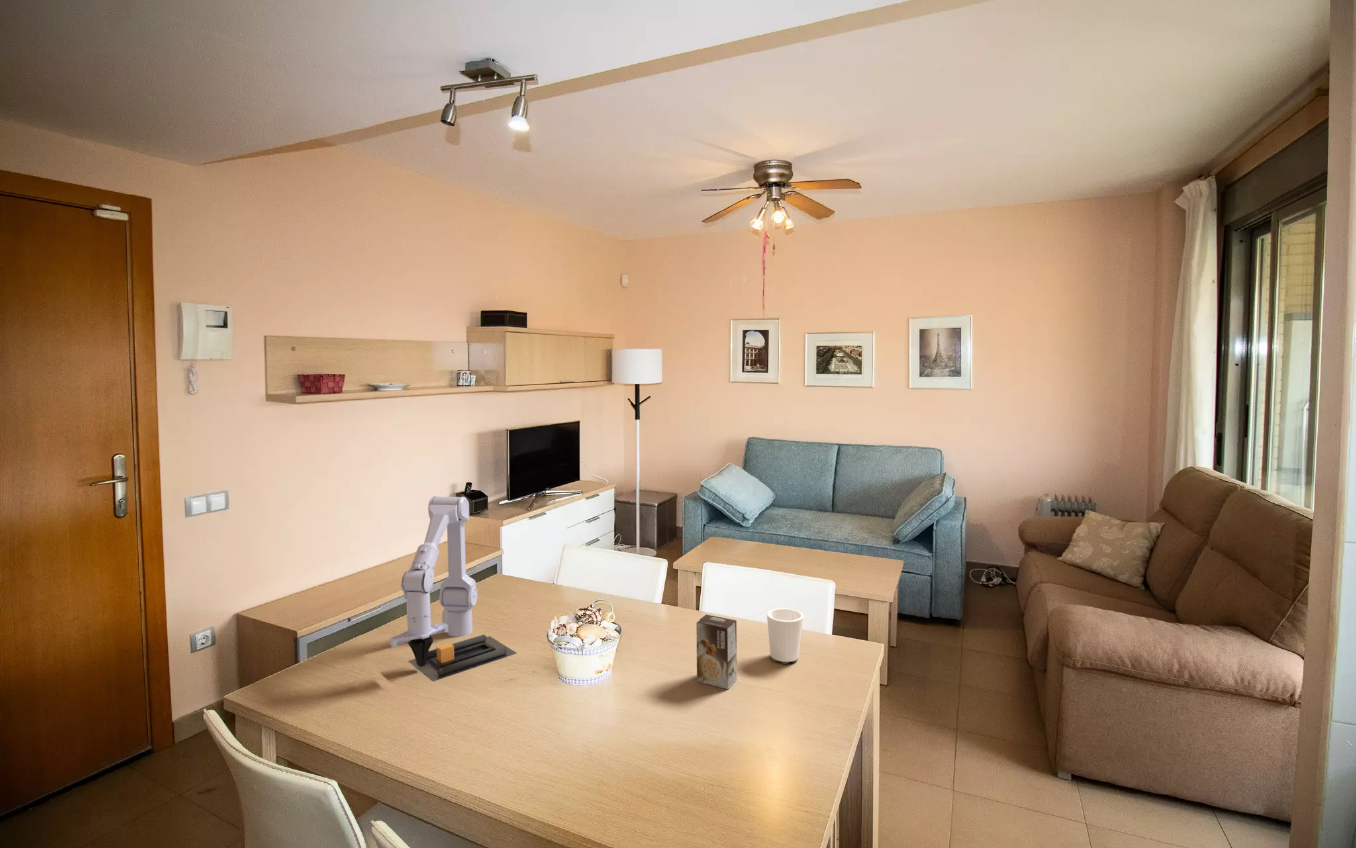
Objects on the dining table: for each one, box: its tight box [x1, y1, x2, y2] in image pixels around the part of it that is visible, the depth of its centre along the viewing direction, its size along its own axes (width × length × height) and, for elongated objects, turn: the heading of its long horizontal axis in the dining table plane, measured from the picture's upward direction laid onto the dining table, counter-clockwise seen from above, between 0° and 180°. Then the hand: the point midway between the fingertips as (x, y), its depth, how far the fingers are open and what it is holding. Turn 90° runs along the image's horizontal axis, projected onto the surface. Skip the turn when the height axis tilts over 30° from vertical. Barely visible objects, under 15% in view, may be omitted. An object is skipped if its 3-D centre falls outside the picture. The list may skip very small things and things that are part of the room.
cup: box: [766, 607, 804, 665], centre depth 187 cm, size 10×10×13 cm
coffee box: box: [695, 614, 738, 690], centre depth 174 cm, size 9×6×16 cm
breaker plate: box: [408, 635, 518, 682], centre depth 186 cm, size 16×24×2 cm, turn 133°
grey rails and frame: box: [426, 634, 507, 675], centre depth 186 cm, size 14×20×2 cm
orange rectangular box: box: [436, 642, 454, 663], centre depth 182 cm, size 3×4×4 cm
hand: (420, 665), depth 178 cm, fingers closed
